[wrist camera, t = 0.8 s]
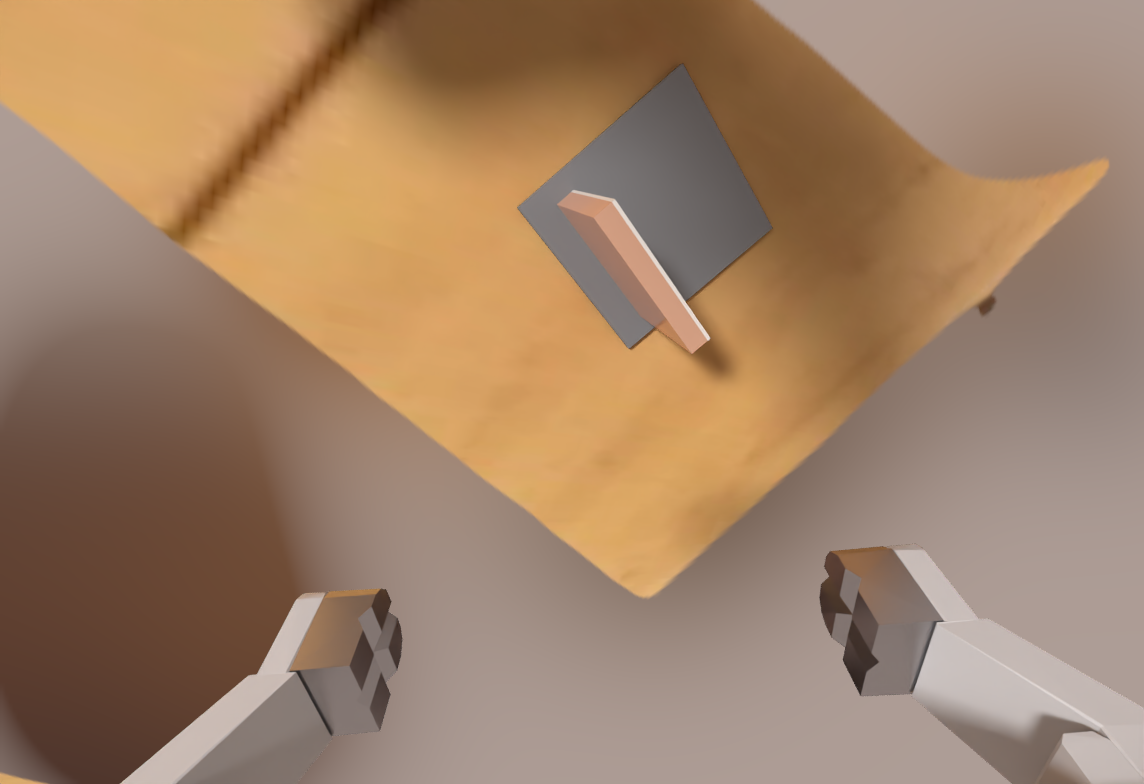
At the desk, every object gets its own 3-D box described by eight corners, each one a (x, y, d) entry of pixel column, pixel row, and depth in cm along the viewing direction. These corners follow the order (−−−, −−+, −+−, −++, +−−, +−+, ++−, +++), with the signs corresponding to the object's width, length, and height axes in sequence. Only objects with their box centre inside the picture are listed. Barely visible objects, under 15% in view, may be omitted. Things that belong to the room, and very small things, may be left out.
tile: (640, 316, 56) (691, 354, 46) (556, 204, 50) (593, 217, 39) (655, 303, 56) (710, 338, 46) (573, 189, 50) (615, 199, 39)
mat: (627, 347, 58) (629, 348, 57) (517, 207, 50) (517, 208, 49) (769, 227, 57) (772, 228, 56) (680, 64, 49) (682, 63, 48)
